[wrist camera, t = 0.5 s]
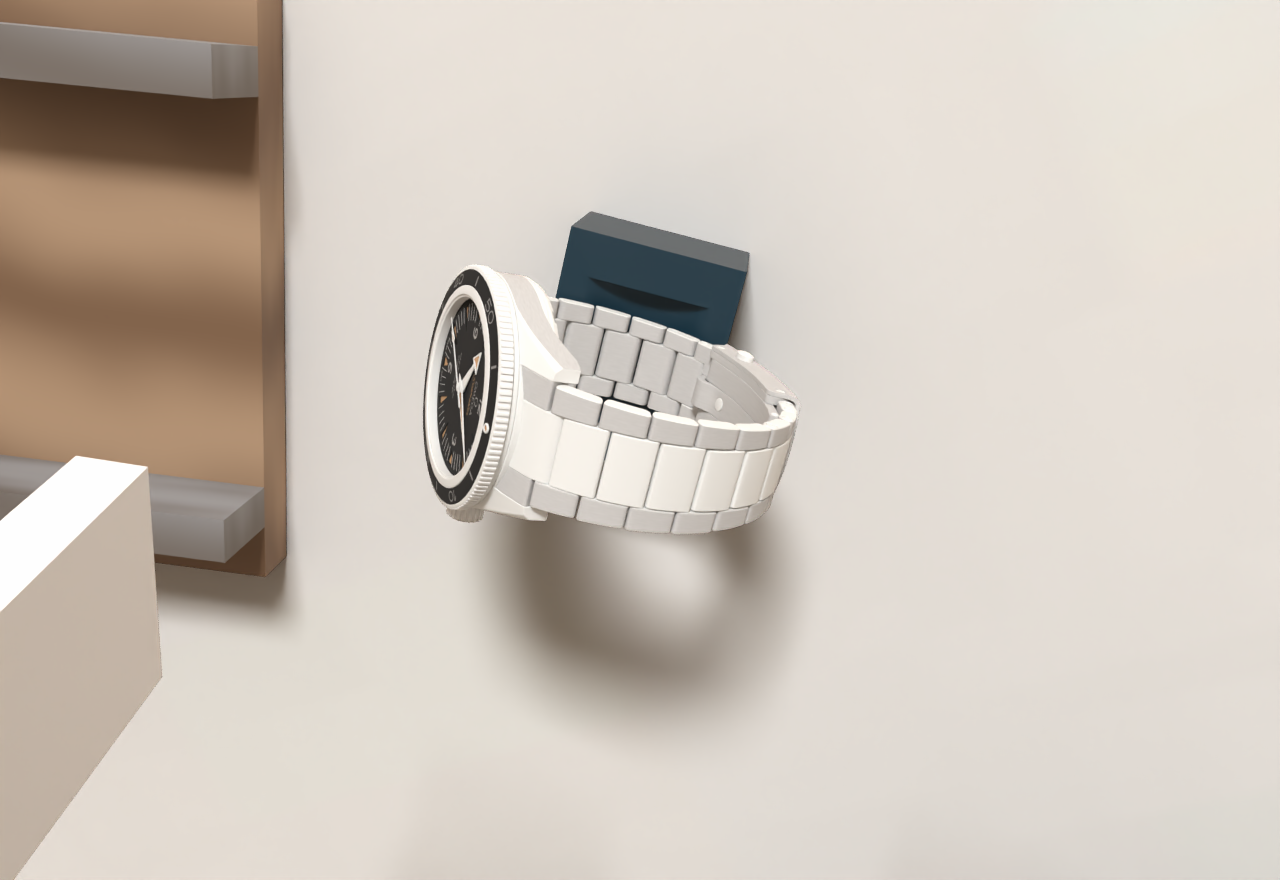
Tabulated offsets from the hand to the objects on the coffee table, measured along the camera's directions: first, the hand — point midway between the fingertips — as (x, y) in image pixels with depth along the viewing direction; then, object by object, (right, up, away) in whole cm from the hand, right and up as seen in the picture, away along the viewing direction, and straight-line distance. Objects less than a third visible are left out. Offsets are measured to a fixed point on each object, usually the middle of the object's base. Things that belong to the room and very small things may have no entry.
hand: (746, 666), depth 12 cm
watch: (-1, +5, +19) cm, 20 cm away
